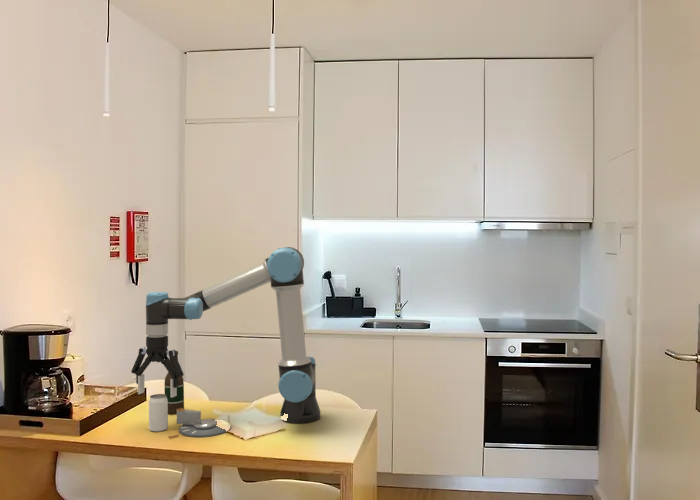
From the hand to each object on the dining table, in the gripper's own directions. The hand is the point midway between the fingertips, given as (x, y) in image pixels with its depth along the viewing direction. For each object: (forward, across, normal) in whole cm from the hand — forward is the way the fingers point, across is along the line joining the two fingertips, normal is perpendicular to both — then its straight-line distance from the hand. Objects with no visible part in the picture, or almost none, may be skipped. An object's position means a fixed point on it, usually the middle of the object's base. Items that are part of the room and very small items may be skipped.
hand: (157, 394), depth 223 cm
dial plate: (+12, -16, -5) cm, 21 cm away
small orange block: (+12, -11, +6) cm, 17 cm away
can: (+12, 0, 0) cm, 13 cm away
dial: (+11, -13, -5) cm, 18 cm away
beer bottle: (+12, +6, -20) cm, 25 cm away
